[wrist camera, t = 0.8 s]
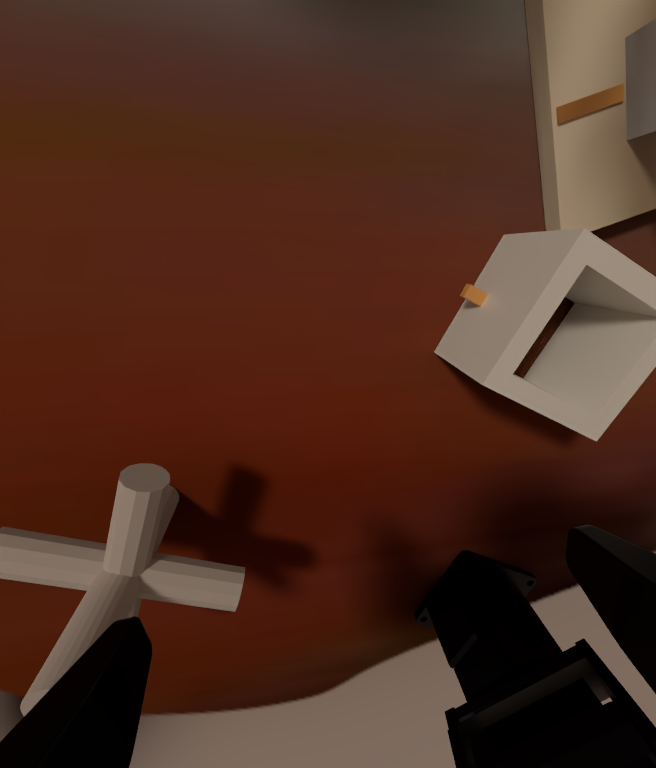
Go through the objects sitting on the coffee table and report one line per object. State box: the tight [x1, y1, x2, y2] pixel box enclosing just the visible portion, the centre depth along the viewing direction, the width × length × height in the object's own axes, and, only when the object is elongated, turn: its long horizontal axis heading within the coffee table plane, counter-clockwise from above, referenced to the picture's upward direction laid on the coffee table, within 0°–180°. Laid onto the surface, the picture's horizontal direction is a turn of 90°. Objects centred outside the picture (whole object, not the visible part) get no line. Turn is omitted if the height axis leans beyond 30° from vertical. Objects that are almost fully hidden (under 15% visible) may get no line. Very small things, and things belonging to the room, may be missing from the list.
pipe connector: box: [0, 463, 245, 716], centre depth 15 cm, size 10×10×10 cm
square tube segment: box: [434, 228, 656, 441], centre depth 16 cm, size 7×6×5 cm
